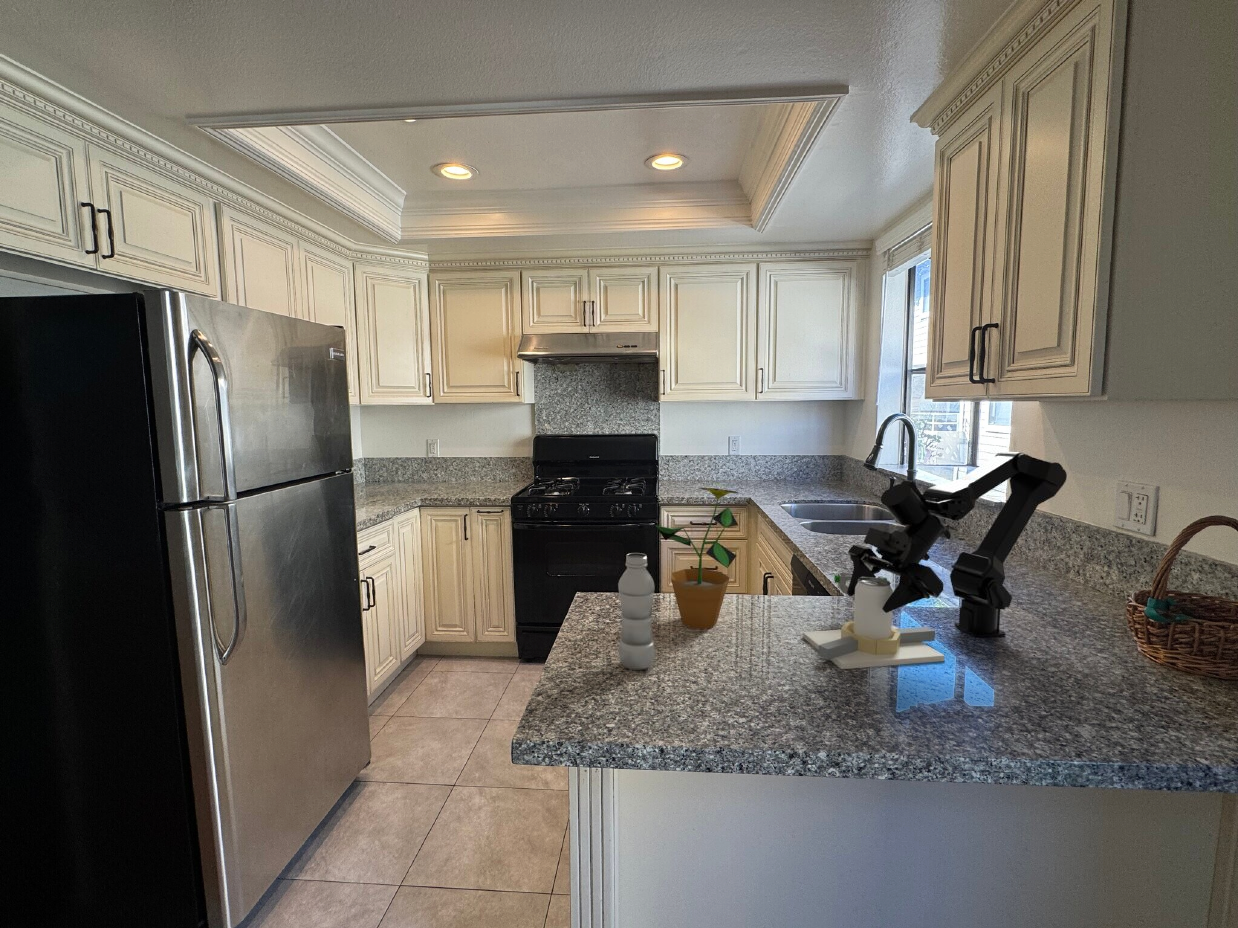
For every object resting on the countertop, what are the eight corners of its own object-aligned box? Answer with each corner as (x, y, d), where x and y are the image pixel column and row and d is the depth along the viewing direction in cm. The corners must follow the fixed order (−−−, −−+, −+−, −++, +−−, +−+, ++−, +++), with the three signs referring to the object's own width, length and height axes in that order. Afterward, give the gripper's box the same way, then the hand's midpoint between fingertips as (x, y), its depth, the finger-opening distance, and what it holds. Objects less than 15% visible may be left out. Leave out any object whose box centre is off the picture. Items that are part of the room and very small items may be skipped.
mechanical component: (886, 625, 115) (888, 578, 114) (835, 621, 117) (836, 576, 116) (882, 619, 118) (884, 574, 117) (832, 616, 120) (833, 572, 119)
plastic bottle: (630, 678, 92) (629, 562, 91) (612, 662, 98) (611, 553, 97) (662, 669, 95) (662, 557, 94) (643, 654, 101) (642, 549, 100)
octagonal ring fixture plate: (906, 629, 112) (907, 613, 112) (958, 659, 99) (959, 640, 98) (791, 637, 109) (791, 620, 108) (828, 670, 95) (829, 650, 95)
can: (851, 635, 107) (853, 575, 107) (887, 638, 106) (889, 577, 105) (855, 648, 101) (857, 584, 100) (894, 652, 99) (896, 587, 98)
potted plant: (761, 630, 113) (764, 485, 110) (681, 645, 105) (682, 491, 103) (714, 602, 129) (715, 476, 126) (642, 614, 122) (642, 480, 119)
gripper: (856, 505, 111) (809, 562, 109) (934, 522, 94) (879, 591, 91) (886, 540, 114) (841, 597, 112) (967, 563, 97) (914, 631, 94)
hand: (865, 602), depth 102 cm, fingers open, 9 cm apart
